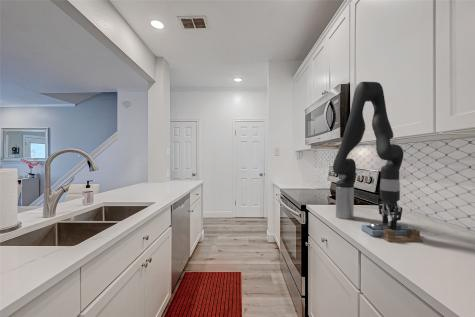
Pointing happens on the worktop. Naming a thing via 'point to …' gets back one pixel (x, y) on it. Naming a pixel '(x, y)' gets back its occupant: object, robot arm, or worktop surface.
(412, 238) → the wooden plank with blocks
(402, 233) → the slate-blue tray
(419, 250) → the worktop surface
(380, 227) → the steel dumbbell
